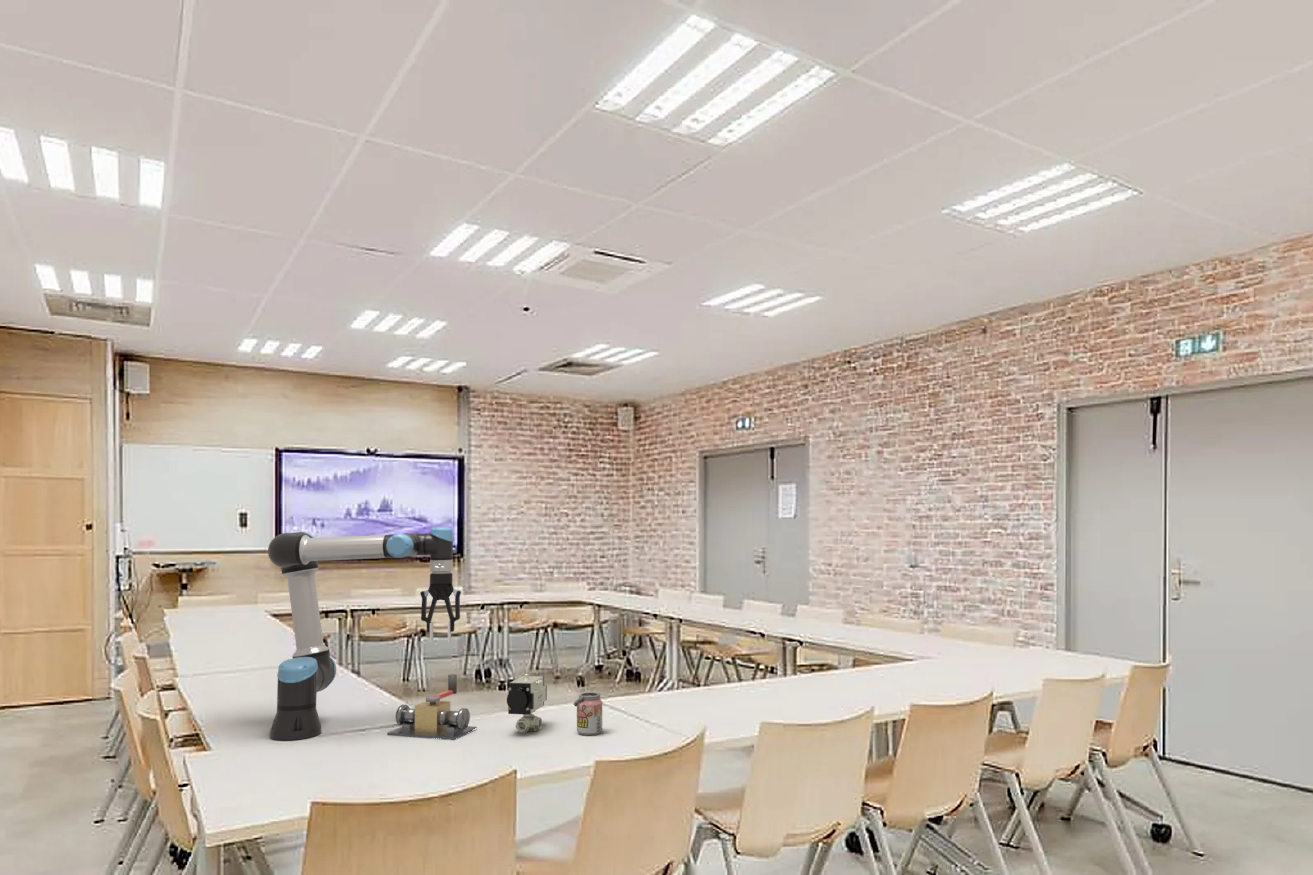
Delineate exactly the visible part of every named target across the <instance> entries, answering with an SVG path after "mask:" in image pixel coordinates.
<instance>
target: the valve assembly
mask: <svg viewBox="0 0 1313 875" xmlns="http://www.w3.org/2000/svg"><path fill="white" fill-rule="evenodd" d="M470 719H471V714H470V711H469V709H468V708H466V707H465V708H464V707H463V708H462V707H461V708H460V709H459V710H451V701H447V700H440V701H437V702H426V701H424V702H420V703H417V704H415V706H414V708H413V707H410V706H409V705H407V704H401V705H399V706H398V707H397V709H396V712H395V722H396V724H397V725H398V726H401V727H398V728H394V729H392V730H390V731H388V732H387V734H386V735H387V736H395V737H404V738H405V737H407V738H420V739H421V738H422V739H432V738H433V739H434V738H435V739H434V740H446V739H451V740H450V741H455V740H457V739H456V738H458V737H460V738H462V737H464V736H465V734H466V733H468V732H470V733H472V732H473V731H472V730H473V729H475V728H478V727H477V726H471V725H470V726H469V724H470ZM471 731H472V732H471ZM468 734H469V733H468ZM463 735H464V736H463ZM466 735H467V734H466ZM461 736H462V737H461ZM436 738H437V739H436ZM438 738H439V739H438ZM440 738H441V739H440ZM458 739H459V738H458Z"/></svg>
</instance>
